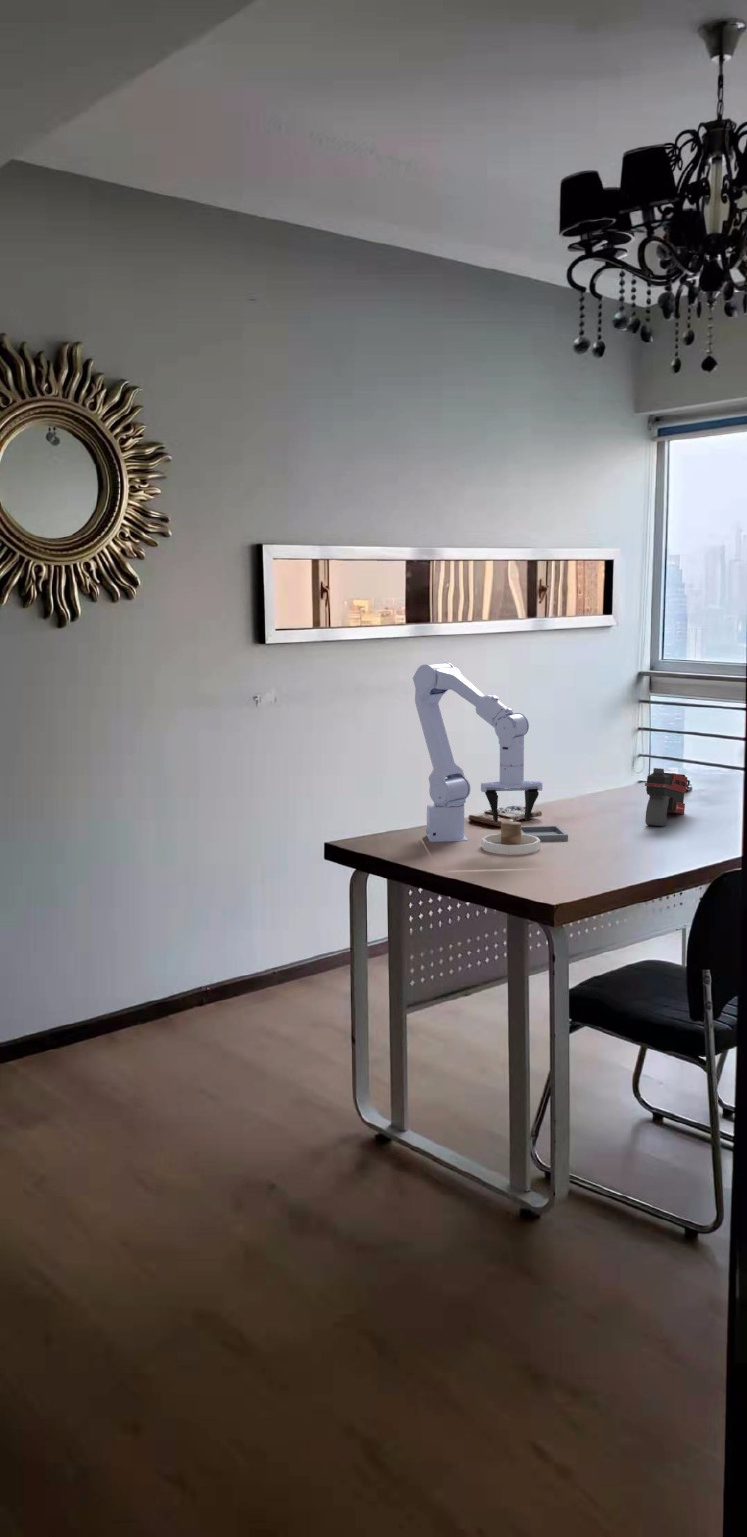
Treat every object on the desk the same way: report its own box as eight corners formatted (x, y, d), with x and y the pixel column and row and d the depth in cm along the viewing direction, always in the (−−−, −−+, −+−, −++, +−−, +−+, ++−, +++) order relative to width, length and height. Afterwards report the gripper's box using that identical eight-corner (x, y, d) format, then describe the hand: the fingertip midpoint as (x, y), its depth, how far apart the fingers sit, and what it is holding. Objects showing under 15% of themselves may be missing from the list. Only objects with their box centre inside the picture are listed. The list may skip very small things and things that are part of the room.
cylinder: (502, 850, 285) (503, 825, 284) (499, 845, 289) (499, 821, 288) (522, 849, 285) (522, 825, 284) (518, 845, 290) (519, 821, 289)
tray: (523, 843, 294) (524, 835, 294) (515, 833, 305) (515, 826, 305) (567, 841, 295) (568, 834, 295) (557, 832, 306) (557, 825, 305)
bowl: (487, 856, 280) (487, 846, 280) (478, 843, 294) (478, 833, 293) (544, 855, 281) (544, 844, 281) (532, 842, 294) (533, 832, 294)
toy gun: (641, 824, 310) (646, 766, 311) (663, 827, 331) (668, 773, 332) (661, 826, 308) (667, 768, 309) (683, 829, 329) (687, 775, 329)
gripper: (484, 767, 280) (484, 824, 282) (545, 766, 281) (544, 823, 283) (479, 763, 286) (479, 818, 289) (539, 761, 288) (538, 817, 290)
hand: (511, 820), depth 286 cm, fingers open, 7 cm apart
